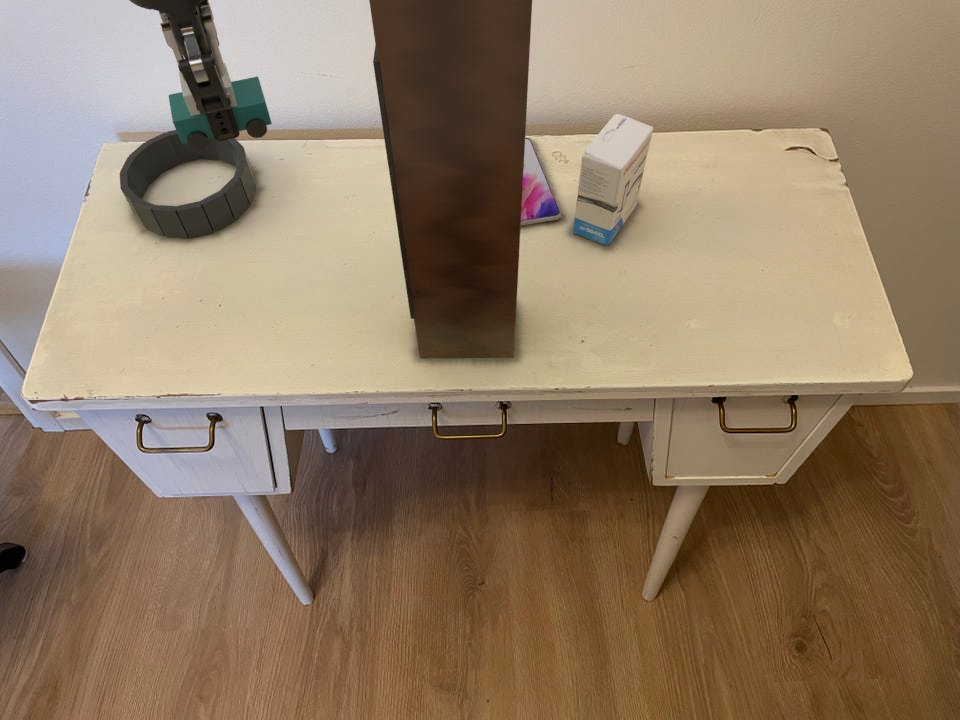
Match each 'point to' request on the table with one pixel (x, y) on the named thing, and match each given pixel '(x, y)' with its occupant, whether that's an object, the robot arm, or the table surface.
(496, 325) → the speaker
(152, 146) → the segmented grey ring
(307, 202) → the table surface
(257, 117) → the toy car
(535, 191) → the smartphone
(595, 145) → the ink box
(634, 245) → the table surface
